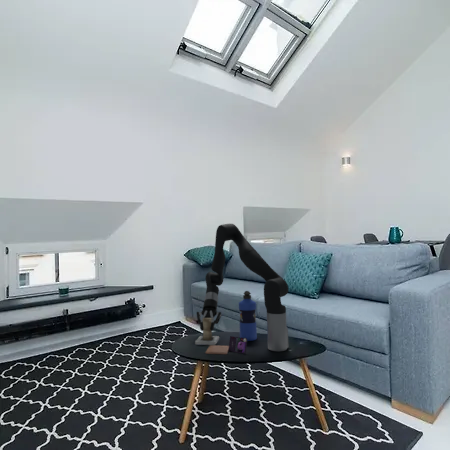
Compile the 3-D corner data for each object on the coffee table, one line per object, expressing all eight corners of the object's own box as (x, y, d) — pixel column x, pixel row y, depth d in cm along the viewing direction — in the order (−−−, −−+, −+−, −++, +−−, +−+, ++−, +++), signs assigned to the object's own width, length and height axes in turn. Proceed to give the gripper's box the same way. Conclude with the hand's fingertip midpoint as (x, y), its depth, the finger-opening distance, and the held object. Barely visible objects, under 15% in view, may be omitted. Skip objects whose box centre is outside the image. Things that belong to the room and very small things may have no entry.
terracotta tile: (210, 346, 166) (210, 345, 166) (230, 347, 164) (230, 345, 164) (205, 353, 156) (205, 351, 156) (226, 354, 154) (226, 352, 154)
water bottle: (256, 335, 183) (254, 289, 184) (258, 340, 174) (256, 292, 175) (239, 336, 183) (237, 290, 184) (240, 341, 174) (238, 292, 175)
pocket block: (200, 338, 180) (200, 335, 181) (219, 339, 179) (219, 336, 179) (195, 344, 170) (195, 341, 170) (215, 345, 168) (215, 342, 168)
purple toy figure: (229, 336, 160) (246, 338, 156) (234, 337, 165) (250, 339, 160) (227, 350, 158) (244, 353, 154) (232, 351, 162) (249, 354, 158)
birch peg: (208, 338, 178) (207, 317, 178) (213, 339, 174) (213, 318, 175) (201, 339, 175) (201, 318, 175) (206, 341, 171) (206, 320, 172)
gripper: (196, 298, 184) (191, 326, 171) (222, 298, 182) (219, 326, 169) (199, 306, 189) (194, 333, 176) (224, 306, 187) (221, 334, 174)
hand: (206, 329), depth 173 cm, fingers closed on birch peg, 4 cm apart
